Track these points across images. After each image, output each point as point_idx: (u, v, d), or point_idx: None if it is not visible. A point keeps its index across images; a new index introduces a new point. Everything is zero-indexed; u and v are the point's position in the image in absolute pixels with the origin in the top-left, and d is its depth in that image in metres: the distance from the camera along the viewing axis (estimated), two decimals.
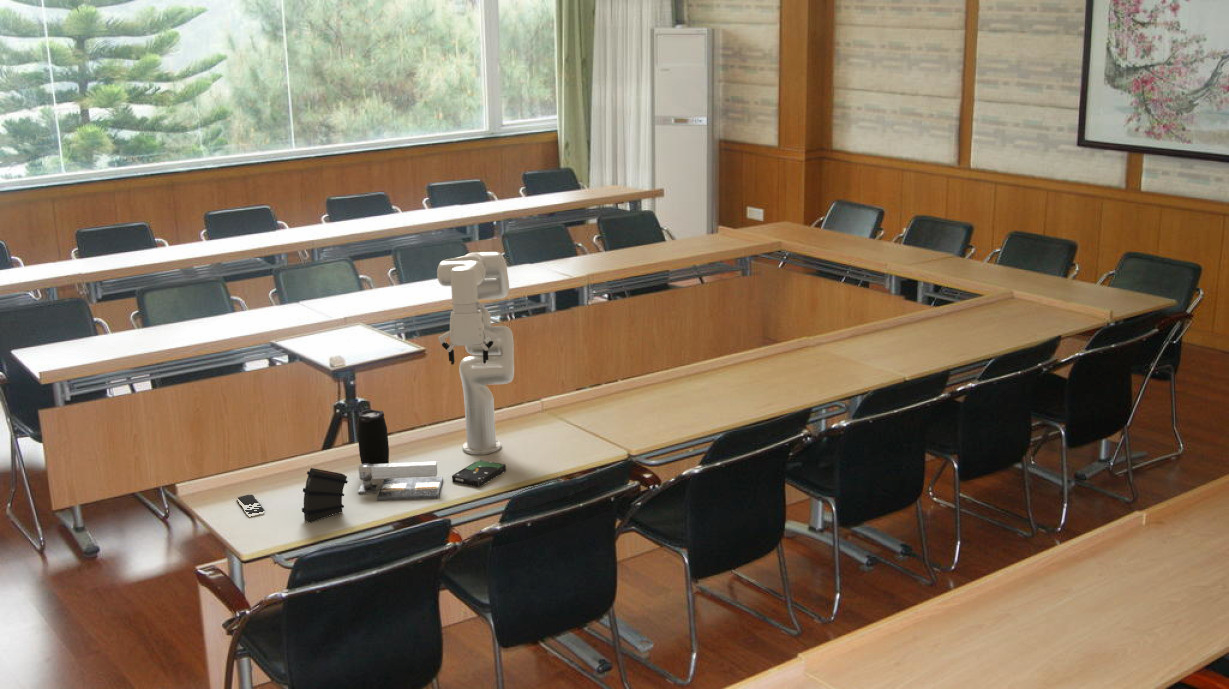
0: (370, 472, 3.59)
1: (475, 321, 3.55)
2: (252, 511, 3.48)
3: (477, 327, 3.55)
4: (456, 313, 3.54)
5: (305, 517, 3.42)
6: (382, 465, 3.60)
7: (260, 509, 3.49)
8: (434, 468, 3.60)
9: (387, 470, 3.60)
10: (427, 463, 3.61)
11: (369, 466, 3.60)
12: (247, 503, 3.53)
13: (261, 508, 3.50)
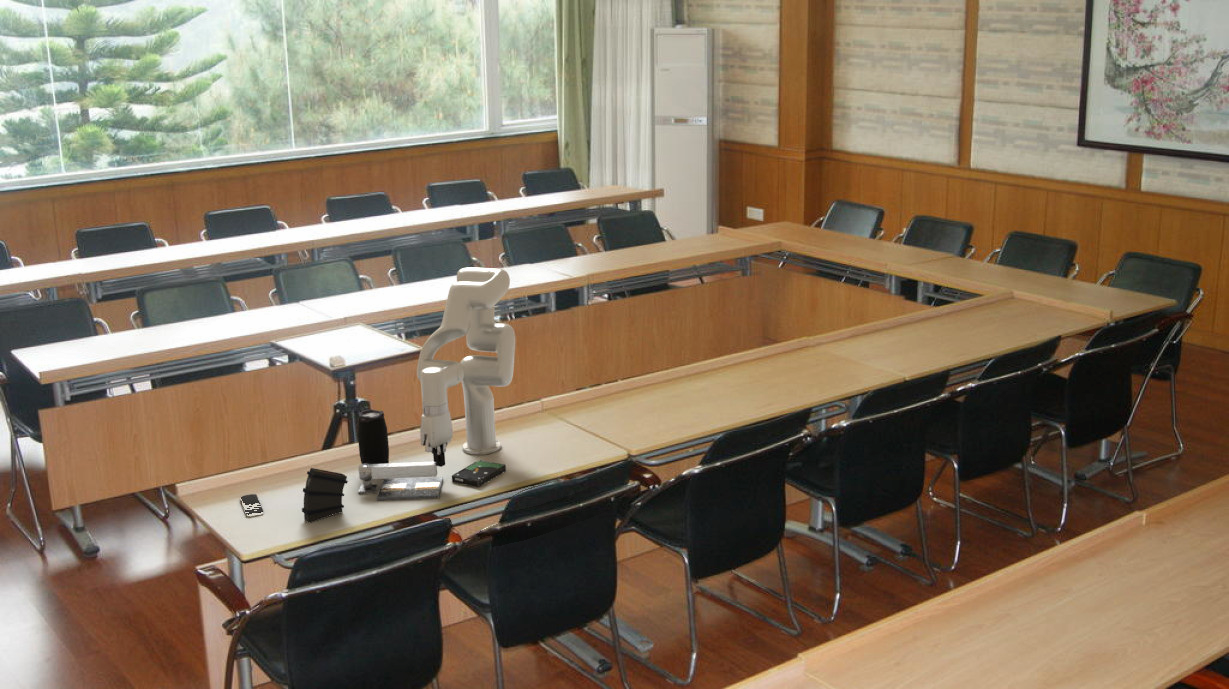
0: (370, 472, 3.59)
1: (448, 418, 3.61)
2: (251, 511, 3.48)
3: (449, 423, 3.62)
4: (437, 415, 3.56)
5: (305, 517, 3.42)
6: (382, 465, 3.60)
7: (259, 509, 3.49)
8: (434, 468, 3.60)
9: (387, 470, 3.59)
10: (427, 463, 3.61)
11: (369, 466, 3.60)
12: (248, 503, 3.53)
13: (260, 508, 3.49)
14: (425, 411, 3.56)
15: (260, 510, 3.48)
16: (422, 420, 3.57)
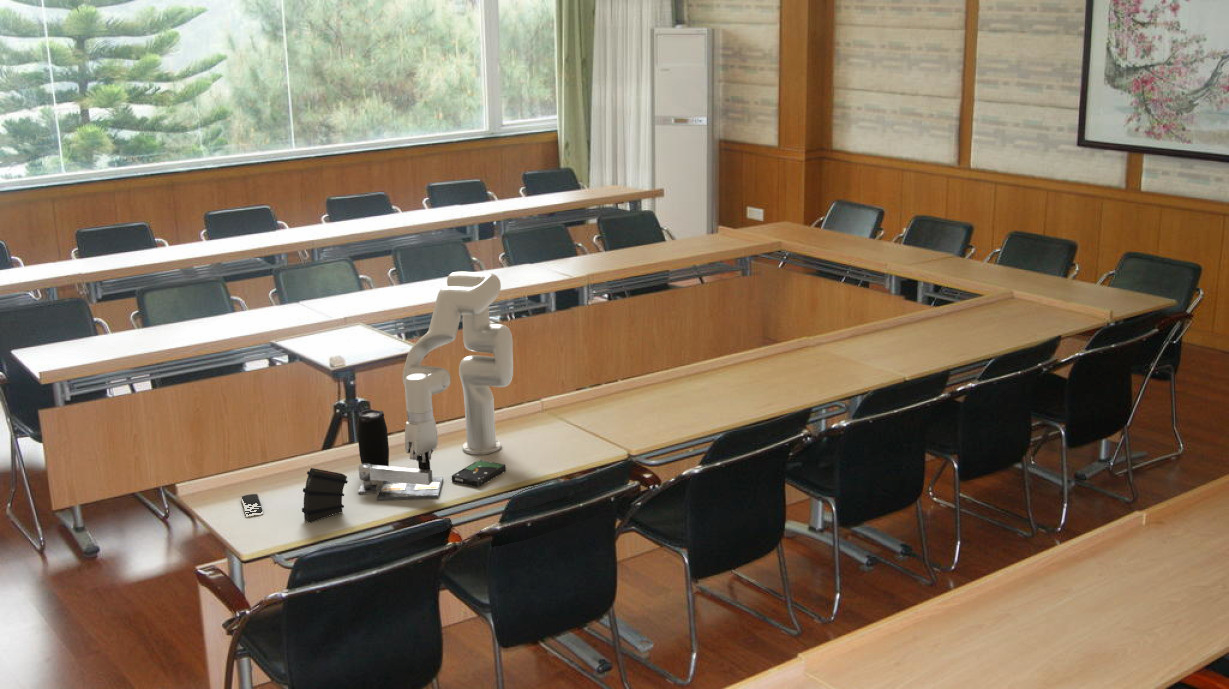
0: (368, 473, 3.59)
1: (433, 425, 3.56)
2: None
3: (434, 430, 3.57)
4: (421, 422, 3.50)
5: (305, 517, 3.42)
6: (380, 467, 3.59)
7: (259, 510, 3.49)
8: (427, 476, 3.54)
9: (384, 473, 3.58)
10: (422, 470, 3.55)
11: (368, 466, 3.59)
12: (249, 503, 3.53)
13: (260, 509, 3.49)
14: (409, 418, 3.51)
15: (260, 510, 3.48)
16: (406, 427, 3.51)
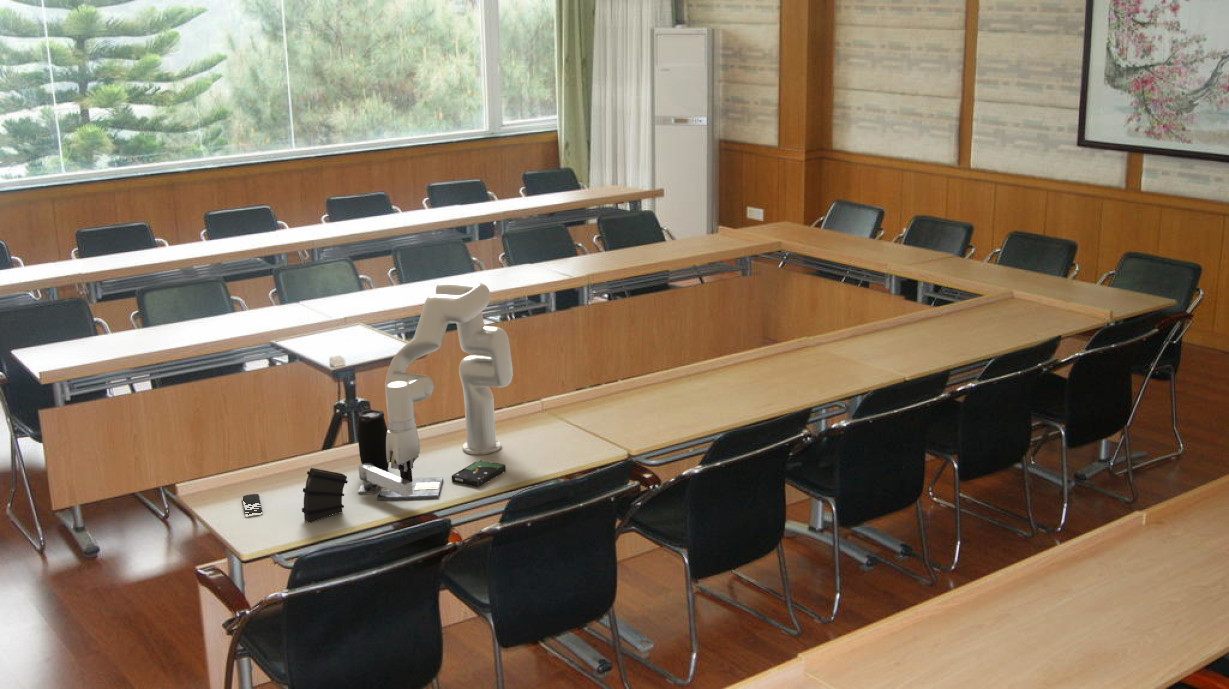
0: (364, 473, 3.59)
1: (415, 433, 3.50)
2: (250, 511, 3.48)
3: (416, 439, 3.50)
4: (403, 430, 3.44)
5: (305, 517, 3.42)
6: (375, 470, 3.57)
7: (258, 510, 3.49)
8: (404, 488, 3.46)
9: (375, 476, 3.55)
10: (403, 480, 3.48)
11: (366, 467, 3.59)
12: (249, 502, 3.53)
13: (260, 509, 3.49)
14: (390, 427, 3.45)
15: (259, 510, 3.48)
16: (387, 436, 3.45)
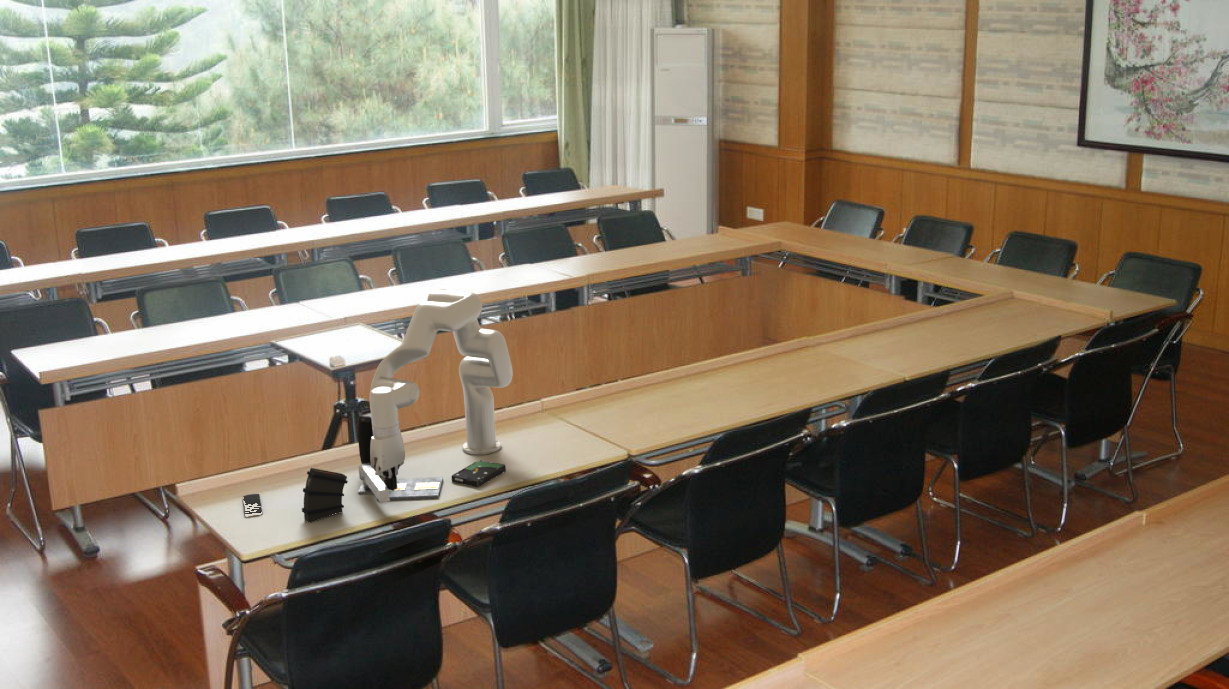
0: (362, 473, 3.59)
1: (400, 439, 3.45)
2: None
3: (401, 445, 3.46)
4: (387, 437, 3.40)
5: (305, 517, 3.42)
6: (369, 471, 3.56)
7: (258, 510, 3.49)
8: (379, 494, 3.42)
9: (367, 477, 3.54)
10: (382, 486, 3.44)
11: (364, 467, 3.59)
12: (249, 502, 3.53)
13: (260, 509, 3.49)
14: (375, 433, 3.40)
15: (259, 510, 3.48)
16: (372, 442, 3.41)
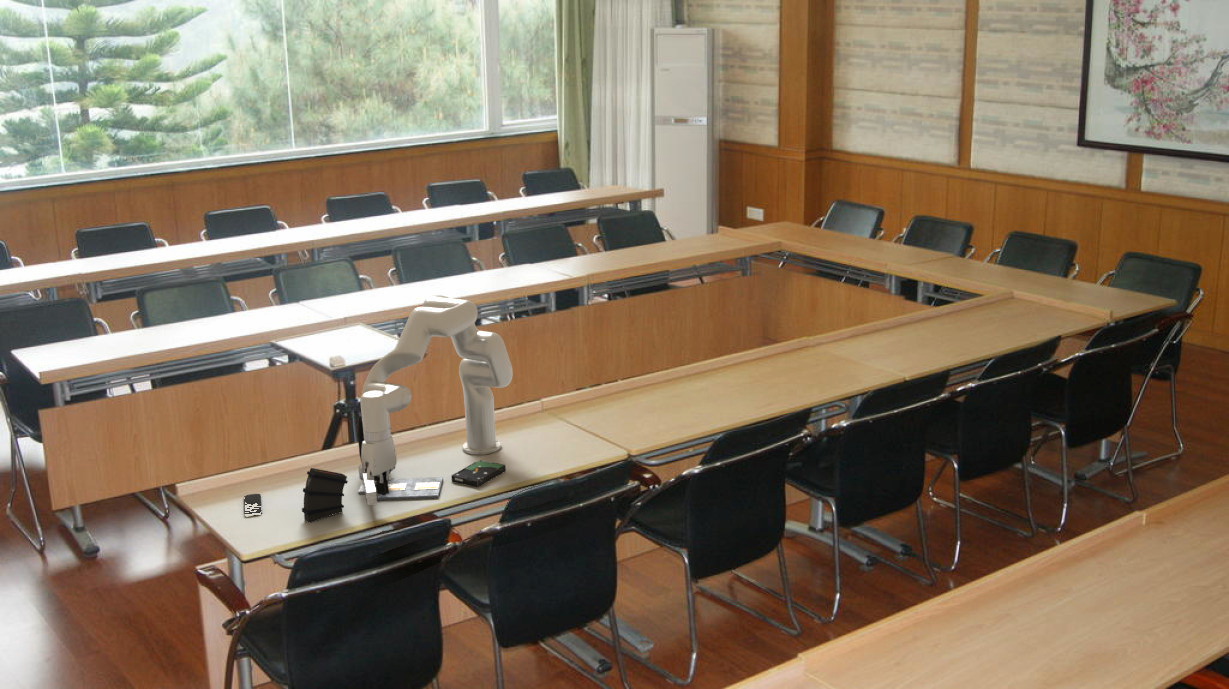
0: (361, 473, 3.59)
1: (391, 444, 3.42)
2: (249, 511, 3.48)
3: (392, 449, 3.43)
4: (378, 441, 3.37)
5: (305, 517, 3.42)
6: None
7: (258, 510, 3.48)
8: (366, 496, 3.41)
9: (363, 478, 3.54)
10: (371, 488, 3.43)
11: None
12: (250, 502, 3.54)
13: (259, 509, 3.49)
14: (366, 437, 3.37)
15: (259, 511, 3.48)
16: (363, 447, 3.38)
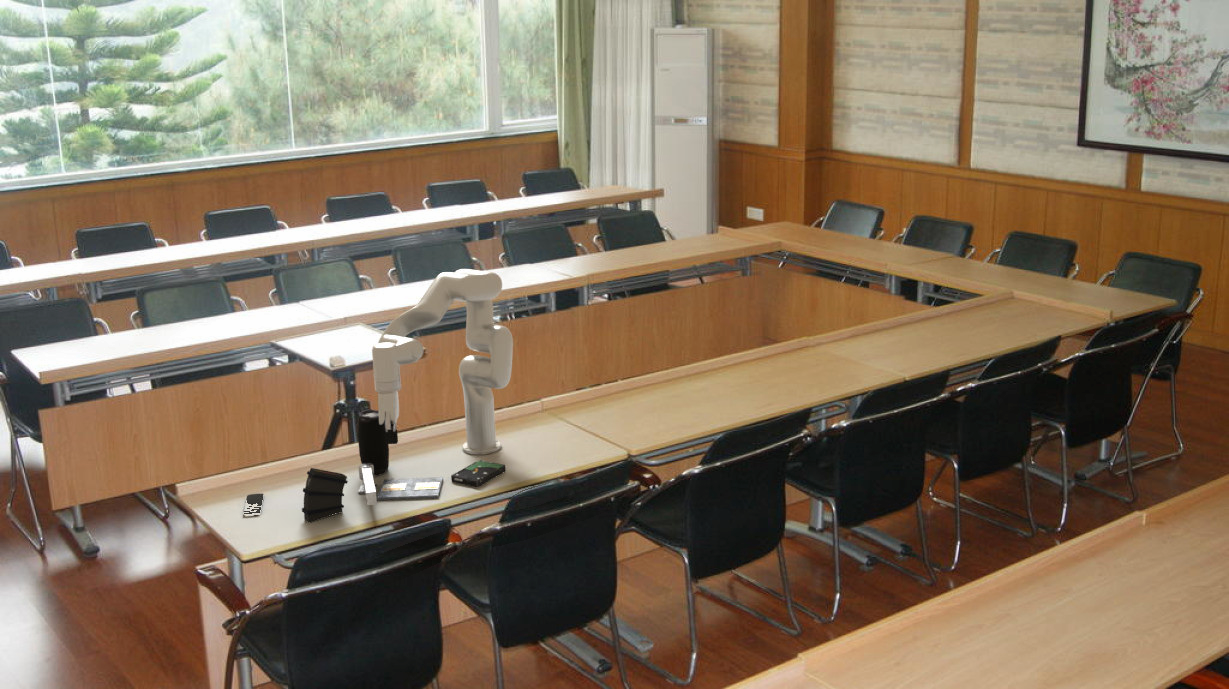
0: (361, 473, 3.59)
1: None
2: (248, 511, 3.48)
3: None
4: (396, 389, 3.50)
5: (305, 517, 3.42)
6: (366, 471, 3.56)
7: (257, 510, 3.48)
8: (366, 496, 3.41)
9: (363, 478, 3.54)
10: (371, 488, 3.43)
11: (363, 467, 3.59)
12: (251, 502, 3.54)
13: (259, 509, 3.49)
14: (383, 388, 3.49)
15: (257, 511, 3.48)
16: (381, 398, 3.48)
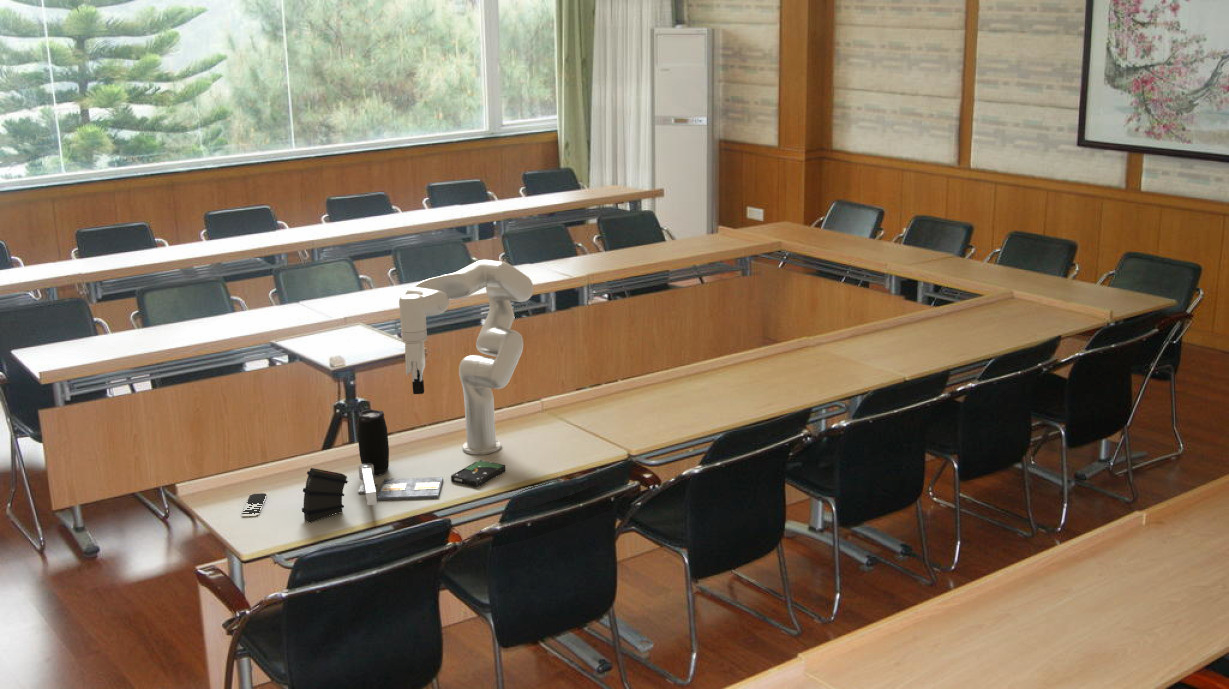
0: (361, 473, 3.59)
1: None
2: (248, 511, 3.48)
3: (424, 349, 3.65)
4: (422, 340, 3.58)
5: (305, 517, 3.42)
6: (366, 471, 3.56)
7: None
8: (366, 496, 3.41)
9: (363, 478, 3.54)
10: (371, 488, 3.43)
11: (363, 467, 3.59)
12: (252, 502, 3.54)
13: (258, 509, 3.49)
14: (410, 338, 3.56)
15: (256, 511, 3.48)
16: (408, 348, 3.56)
